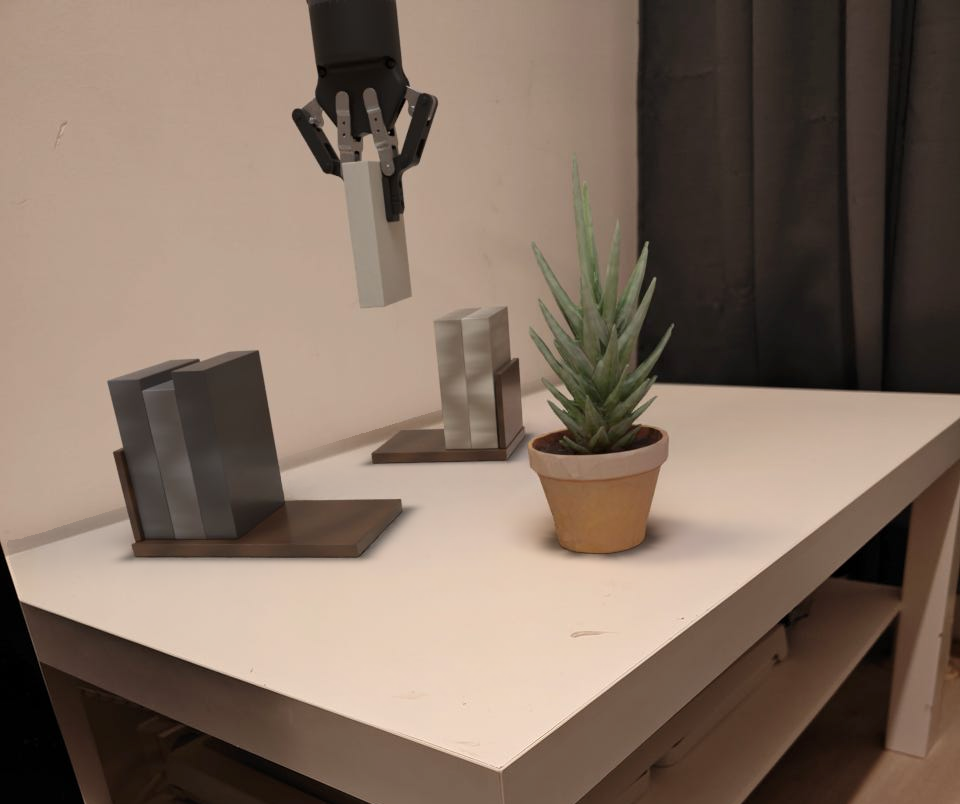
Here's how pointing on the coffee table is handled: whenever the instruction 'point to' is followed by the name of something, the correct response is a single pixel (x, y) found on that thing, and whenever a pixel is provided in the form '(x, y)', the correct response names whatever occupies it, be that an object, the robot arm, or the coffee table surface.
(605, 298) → the potted plant
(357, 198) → the ivory book
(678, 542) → the coffee table surface
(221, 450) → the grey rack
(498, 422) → the ivory shelf
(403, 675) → the coffee table surface
